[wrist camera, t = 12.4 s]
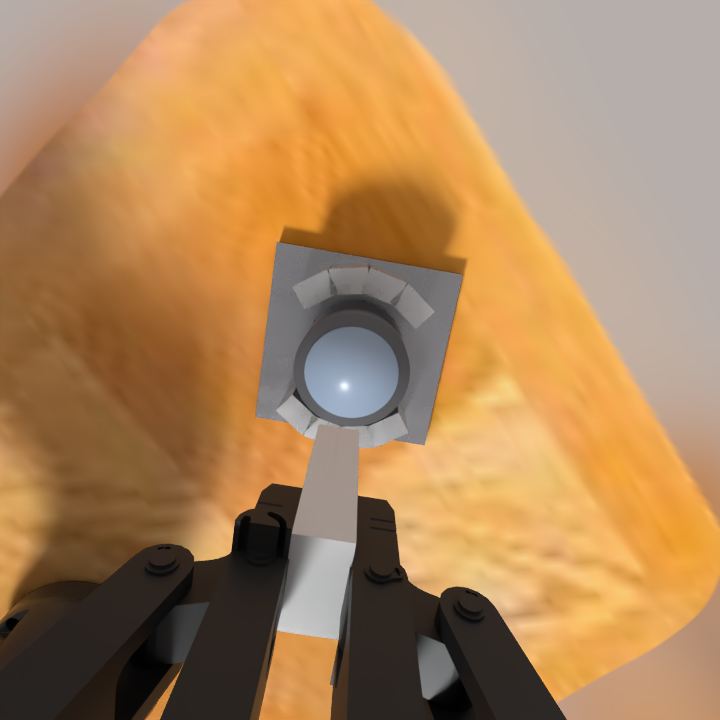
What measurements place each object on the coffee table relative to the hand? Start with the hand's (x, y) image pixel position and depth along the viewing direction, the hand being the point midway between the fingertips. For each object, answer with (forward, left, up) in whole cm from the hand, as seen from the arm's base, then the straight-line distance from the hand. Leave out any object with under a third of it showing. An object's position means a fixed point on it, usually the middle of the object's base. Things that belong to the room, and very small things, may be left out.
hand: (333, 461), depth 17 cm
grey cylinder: (0, 0, -17) cm, 17 cm away
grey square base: (0, 0, -18) cm, 18 cm away
